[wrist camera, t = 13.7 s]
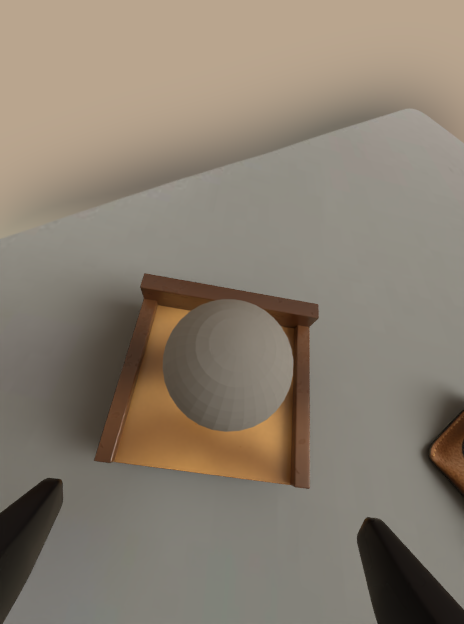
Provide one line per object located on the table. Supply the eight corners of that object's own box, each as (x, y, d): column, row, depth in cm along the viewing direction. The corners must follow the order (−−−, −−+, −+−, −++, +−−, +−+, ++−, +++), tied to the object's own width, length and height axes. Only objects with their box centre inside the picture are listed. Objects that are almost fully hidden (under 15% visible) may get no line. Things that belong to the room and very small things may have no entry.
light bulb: (225, 453, 17) (261, 472, 8) (154, 395, 18) (117, 356, 9) (273, 378, 20) (341, 329, 11) (208, 331, 21) (221, 249, 12)
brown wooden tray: (289, 480, 20) (322, 494, 15) (111, 456, 19) (82, 463, 14) (293, 330, 25) (318, 304, 20) (154, 306, 24) (144, 272, 19)
